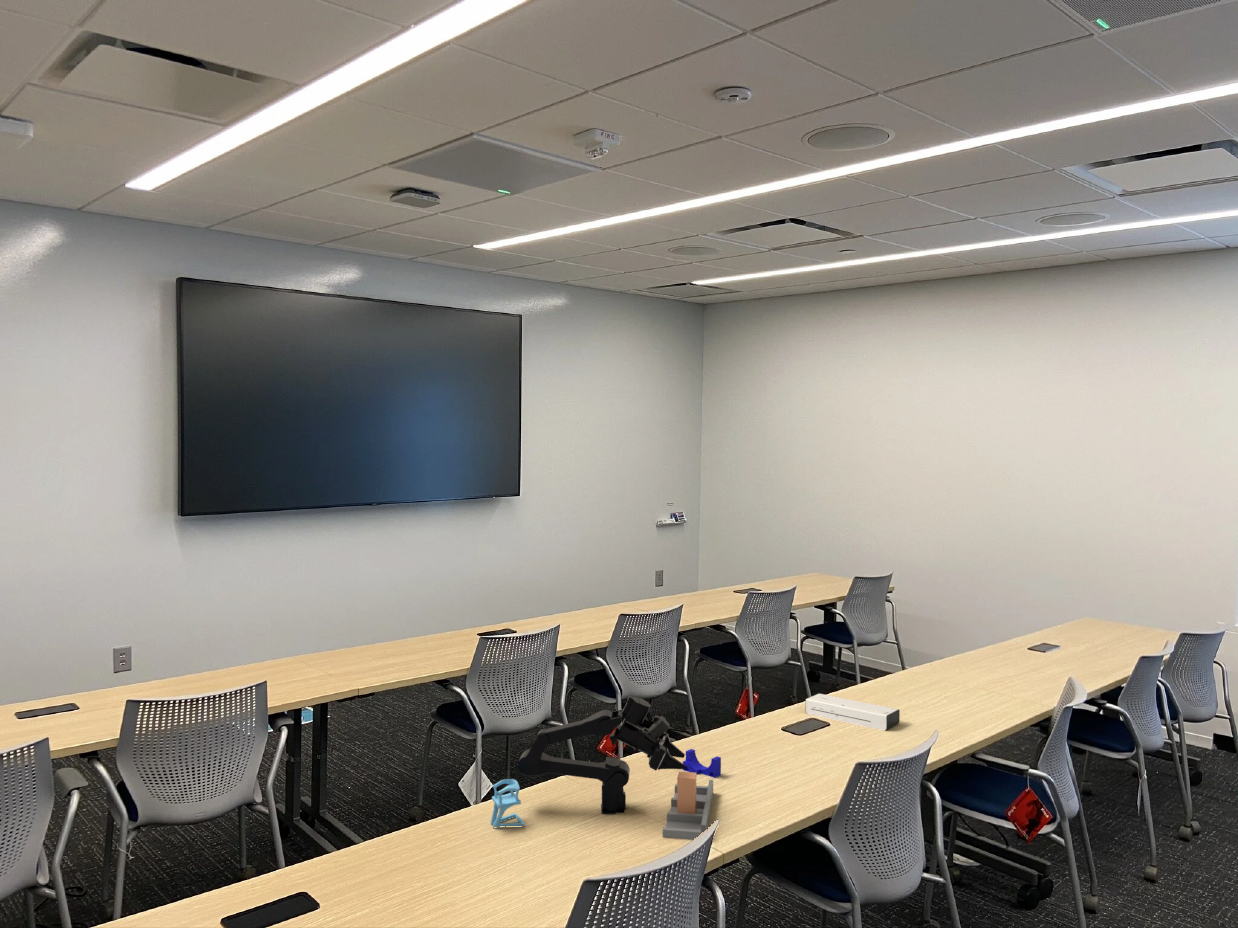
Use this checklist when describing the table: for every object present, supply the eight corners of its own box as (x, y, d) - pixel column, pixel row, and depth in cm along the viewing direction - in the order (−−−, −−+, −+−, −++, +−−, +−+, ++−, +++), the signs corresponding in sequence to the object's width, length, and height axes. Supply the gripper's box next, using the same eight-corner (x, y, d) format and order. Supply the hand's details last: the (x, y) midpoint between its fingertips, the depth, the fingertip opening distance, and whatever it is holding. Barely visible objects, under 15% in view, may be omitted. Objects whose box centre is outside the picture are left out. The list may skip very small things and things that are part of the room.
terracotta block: (677, 816, 251) (677, 777, 251) (678, 809, 256) (679, 771, 256) (694, 817, 250) (694, 778, 250) (696, 810, 255) (696, 772, 255)
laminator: (805, 714, 352) (805, 698, 352) (820, 707, 361) (820, 692, 361) (886, 732, 330) (887, 715, 330) (900, 724, 339) (900, 708, 339)
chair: (488, 821, 249) (487, 778, 249) (516, 816, 252) (516, 774, 252) (495, 832, 242) (495, 788, 242) (524, 826, 245) (524, 783, 245)
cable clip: (682, 770, 289) (682, 752, 289) (691, 766, 292) (691, 748, 292) (712, 779, 281) (712, 760, 281) (720, 775, 284) (720, 757, 284)
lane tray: (662, 838, 238) (662, 821, 238) (675, 791, 270) (675, 777, 270) (705, 841, 236) (705, 825, 236) (713, 794, 268) (713, 779, 268)
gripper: (646, 722, 246) (697, 747, 246) (648, 703, 265) (695, 726, 264) (629, 757, 247) (679, 783, 246) (632, 736, 266) (679, 759, 265)
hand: (684, 761), depth 255 cm, fingers open, 9 cm apart
